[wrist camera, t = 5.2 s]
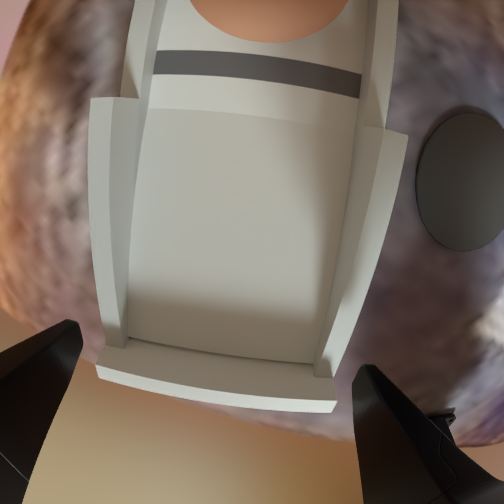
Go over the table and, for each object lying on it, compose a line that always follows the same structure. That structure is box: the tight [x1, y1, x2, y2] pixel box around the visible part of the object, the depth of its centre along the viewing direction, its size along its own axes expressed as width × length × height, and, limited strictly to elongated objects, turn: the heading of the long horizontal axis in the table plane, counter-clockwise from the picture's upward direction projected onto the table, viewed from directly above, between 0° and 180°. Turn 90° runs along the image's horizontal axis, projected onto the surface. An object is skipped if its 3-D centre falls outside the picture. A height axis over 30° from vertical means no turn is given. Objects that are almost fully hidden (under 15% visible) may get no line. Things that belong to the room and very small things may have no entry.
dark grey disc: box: [416, 113, 504, 251], centre depth 12 cm, size 7×7×1 cm
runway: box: [88, 0, 409, 413], centre depth 9 cm, size 18×9×6 cm, turn 173°
